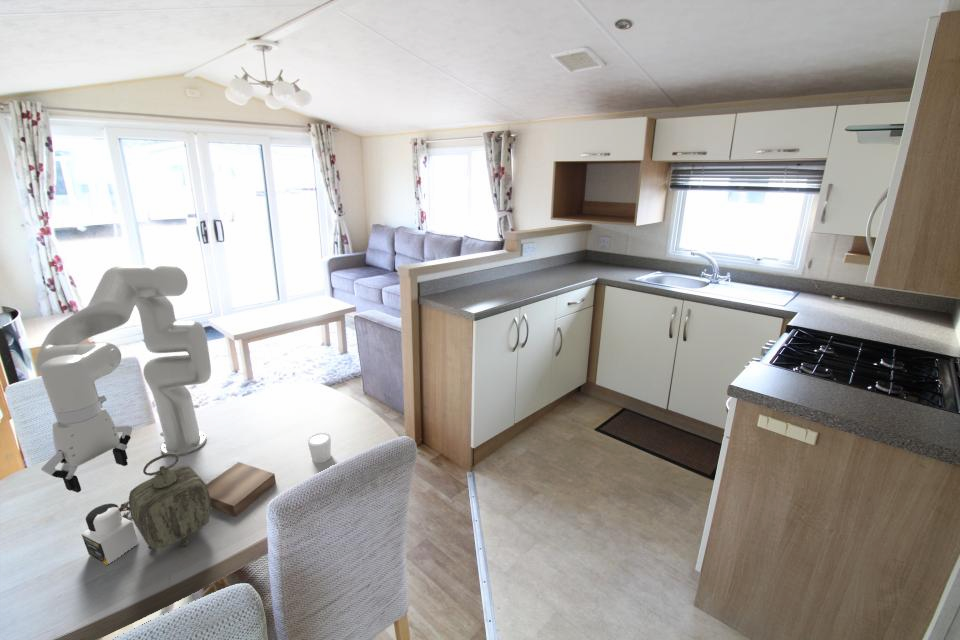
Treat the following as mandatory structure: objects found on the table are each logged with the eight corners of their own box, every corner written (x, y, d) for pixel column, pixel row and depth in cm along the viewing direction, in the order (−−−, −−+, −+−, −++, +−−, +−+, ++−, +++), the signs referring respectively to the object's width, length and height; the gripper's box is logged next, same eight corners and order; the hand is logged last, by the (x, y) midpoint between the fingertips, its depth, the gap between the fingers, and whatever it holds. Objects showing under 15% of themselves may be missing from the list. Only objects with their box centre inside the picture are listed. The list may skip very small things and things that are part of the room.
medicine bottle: (88, 556, 106) (74, 516, 102) (121, 534, 113) (108, 496, 109) (107, 566, 104) (93, 526, 100) (139, 543, 110) (127, 504, 106)
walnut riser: (198, 502, 124) (195, 491, 122) (240, 471, 136) (238, 461, 135) (235, 516, 119) (233, 506, 118) (276, 483, 131) (274, 473, 130)
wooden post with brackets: (140, 509, 120) (128, 501, 117) (110, 536, 115) (97, 528, 112) (137, 506, 120) (125, 498, 118) (107, 533, 116) (94, 525, 113)
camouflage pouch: (206, 515, 119) (187, 436, 111) (220, 533, 114) (201, 450, 105) (141, 549, 108) (115, 464, 100) (154, 570, 103) (127, 482, 95)
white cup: (325, 465, 139) (323, 446, 137) (305, 462, 141) (303, 443, 138) (336, 452, 146) (334, 434, 143) (317, 449, 147) (315, 431, 145)
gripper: (110, 390, 105) (128, 451, 111) (17, 428, 90) (43, 497, 95) (132, 396, 103) (149, 458, 108) (40, 436, 87) (66, 506, 93)
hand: (99, 476), depth 102 cm, fingers open, 9 cm apart
